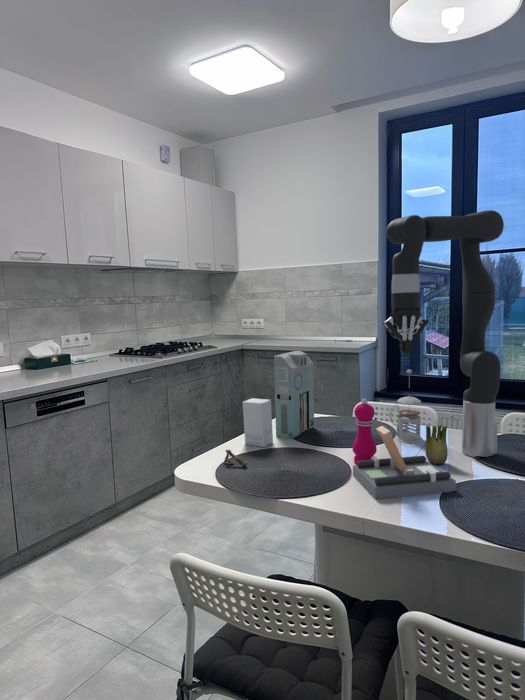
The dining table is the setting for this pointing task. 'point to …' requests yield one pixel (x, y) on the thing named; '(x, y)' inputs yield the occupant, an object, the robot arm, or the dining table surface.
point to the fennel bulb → (436, 444)
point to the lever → (391, 448)
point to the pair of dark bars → (405, 478)
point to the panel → (369, 475)
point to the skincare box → (257, 422)
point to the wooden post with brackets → (234, 458)
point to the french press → (408, 420)
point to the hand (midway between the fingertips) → (405, 353)
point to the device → (293, 393)
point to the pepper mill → (364, 433)
